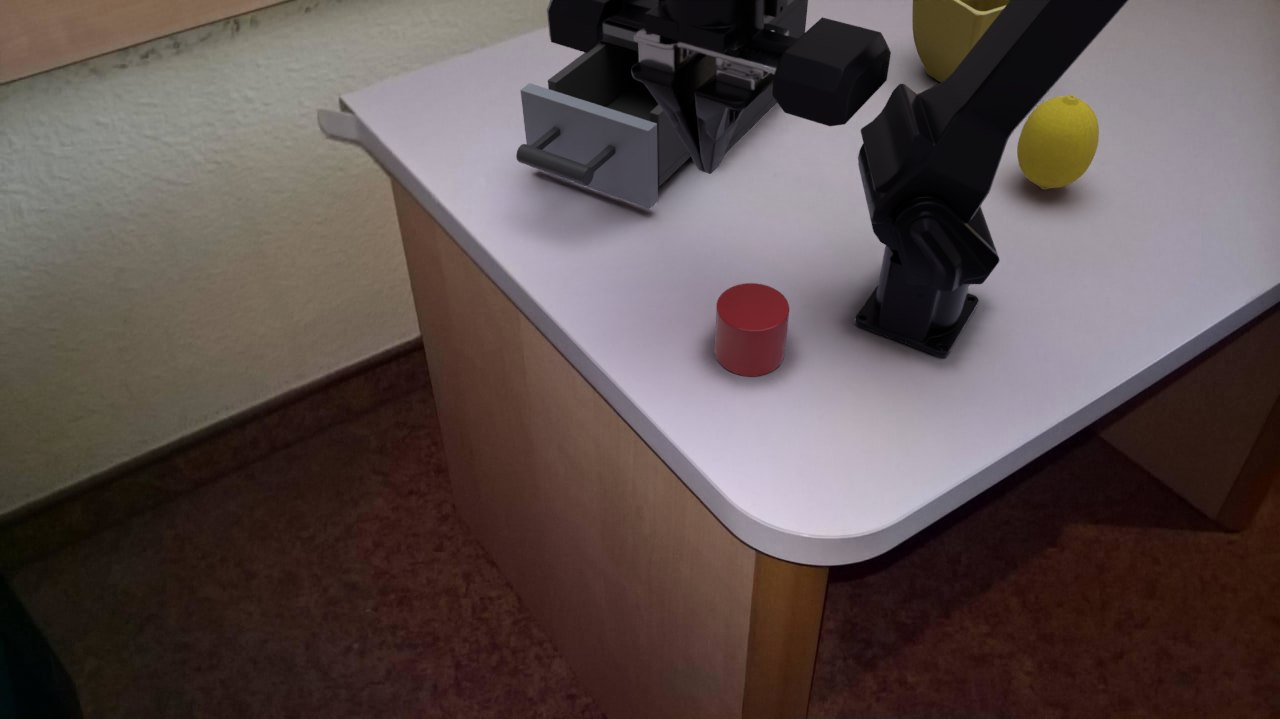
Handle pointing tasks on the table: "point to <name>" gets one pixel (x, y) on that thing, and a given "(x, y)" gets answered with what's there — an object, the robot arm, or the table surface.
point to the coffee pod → (751, 329)
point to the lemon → (1058, 142)
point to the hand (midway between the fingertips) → (709, 169)
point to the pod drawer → (601, 128)
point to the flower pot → (950, 31)
